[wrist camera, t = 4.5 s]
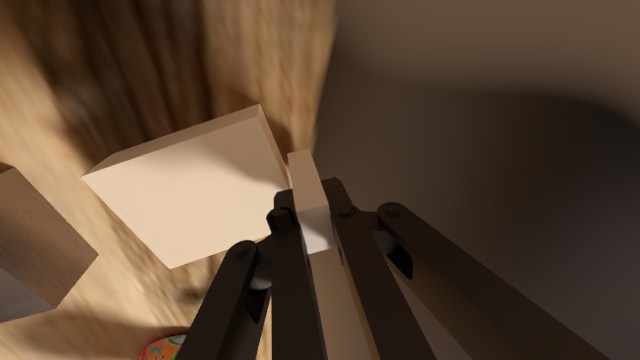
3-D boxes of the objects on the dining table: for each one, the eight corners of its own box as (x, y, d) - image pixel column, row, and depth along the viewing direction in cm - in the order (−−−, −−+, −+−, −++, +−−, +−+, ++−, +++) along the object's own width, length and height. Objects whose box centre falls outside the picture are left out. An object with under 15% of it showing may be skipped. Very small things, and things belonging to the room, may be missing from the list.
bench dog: (46, 268, 19) (-12, 326, 15) (-55, 182, 15) (-169, 233, 11) (98, 254, 19) (55, 308, 15) (14, 167, 15) (-74, 211, 11)
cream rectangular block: (184, 235, 20) (169, 269, 17) (115, 151, 16) (80, 176, 13) (298, 196, 20) (303, 223, 17) (259, 102, 16) (257, 115, 13)
